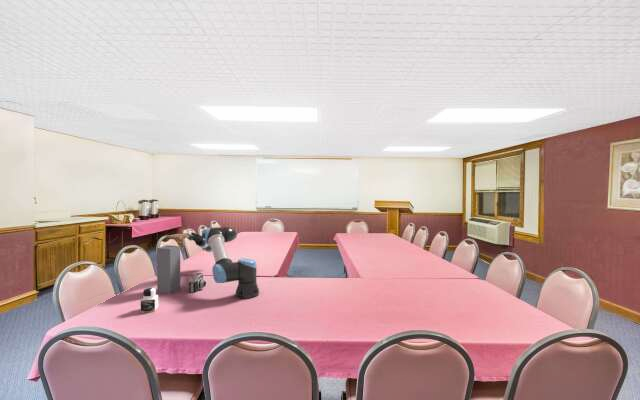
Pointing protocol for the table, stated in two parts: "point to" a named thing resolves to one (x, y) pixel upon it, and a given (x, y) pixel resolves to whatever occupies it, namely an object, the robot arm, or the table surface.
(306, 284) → the table surface
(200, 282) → the camera
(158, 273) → the charcoal pedestal
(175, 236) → the walnut paddle board
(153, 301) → the medicine bottle
